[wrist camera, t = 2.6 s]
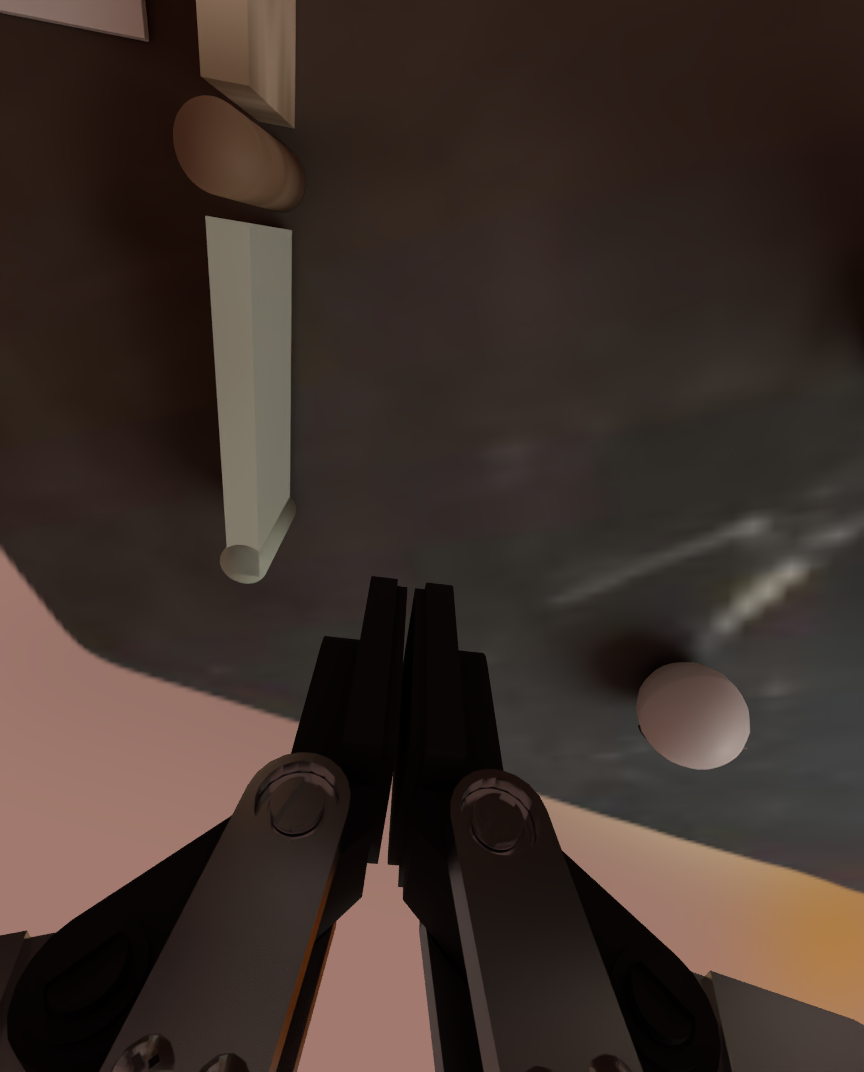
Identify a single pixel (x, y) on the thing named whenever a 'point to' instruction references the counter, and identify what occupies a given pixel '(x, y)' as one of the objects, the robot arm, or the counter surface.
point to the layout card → (86, 15)
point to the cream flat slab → (252, 388)
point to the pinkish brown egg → (693, 715)
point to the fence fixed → (243, 104)
